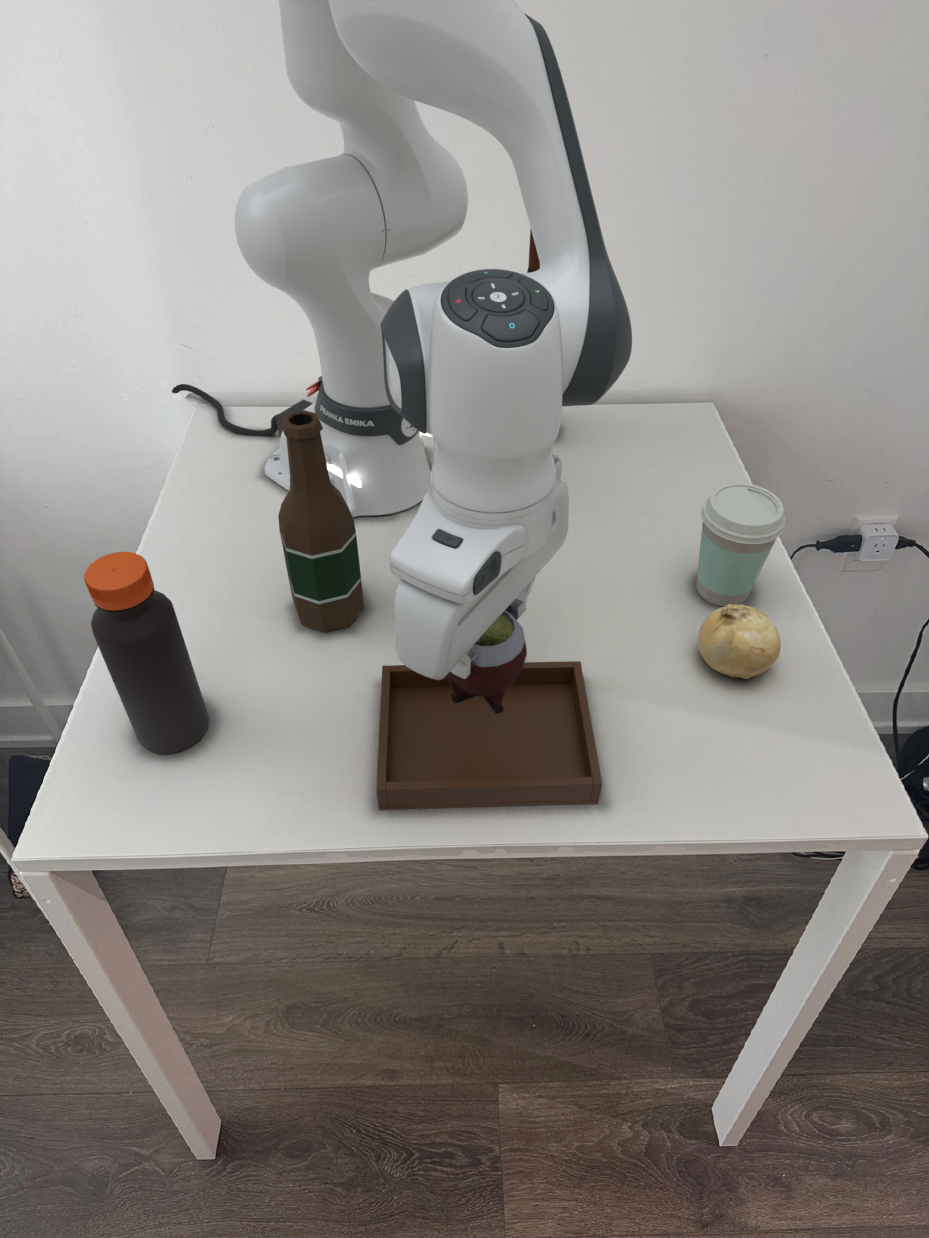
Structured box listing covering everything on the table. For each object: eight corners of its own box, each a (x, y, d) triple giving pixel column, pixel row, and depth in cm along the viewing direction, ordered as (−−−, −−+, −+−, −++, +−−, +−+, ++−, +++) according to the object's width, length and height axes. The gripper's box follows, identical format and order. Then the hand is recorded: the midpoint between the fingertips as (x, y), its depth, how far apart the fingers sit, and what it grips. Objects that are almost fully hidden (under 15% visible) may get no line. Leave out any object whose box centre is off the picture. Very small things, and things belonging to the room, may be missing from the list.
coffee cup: (762, 620, 94) (792, 534, 85) (683, 609, 95) (704, 523, 87) (759, 570, 100) (786, 484, 91) (684, 560, 101) (704, 475, 93)
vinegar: (212, 746, 81) (160, 589, 67) (138, 762, 80) (69, 606, 66) (206, 694, 86) (157, 537, 72) (136, 708, 85) (72, 552, 71)
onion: (753, 630, 93) (770, 580, 88) (785, 684, 87) (805, 635, 82) (682, 638, 92) (695, 589, 87) (710, 694, 86) (725, 645, 81)
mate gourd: (499, 650, 80) (505, 523, 70) (542, 709, 75) (556, 581, 65) (426, 677, 78) (422, 549, 67) (466, 739, 73) (468, 612, 62)
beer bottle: (300, 585, 98) (266, 395, 81) (368, 586, 97) (349, 397, 81) (287, 633, 92) (249, 440, 75) (360, 635, 92) (337, 442, 75)
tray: (378, 809, 76) (376, 789, 74) (384, 686, 87) (382, 665, 85) (598, 804, 77) (602, 783, 75) (577, 681, 87) (580, 660, 85)
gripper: (526, 431, 70) (518, 561, 80) (373, 568, 58) (386, 702, 68) (595, 455, 68) (579, 586, 77) (451, 603, 55) (453, 737, 65)
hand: (488, 641), depth 72 cm, fingers closed on mate gourd, 6 cm apart
